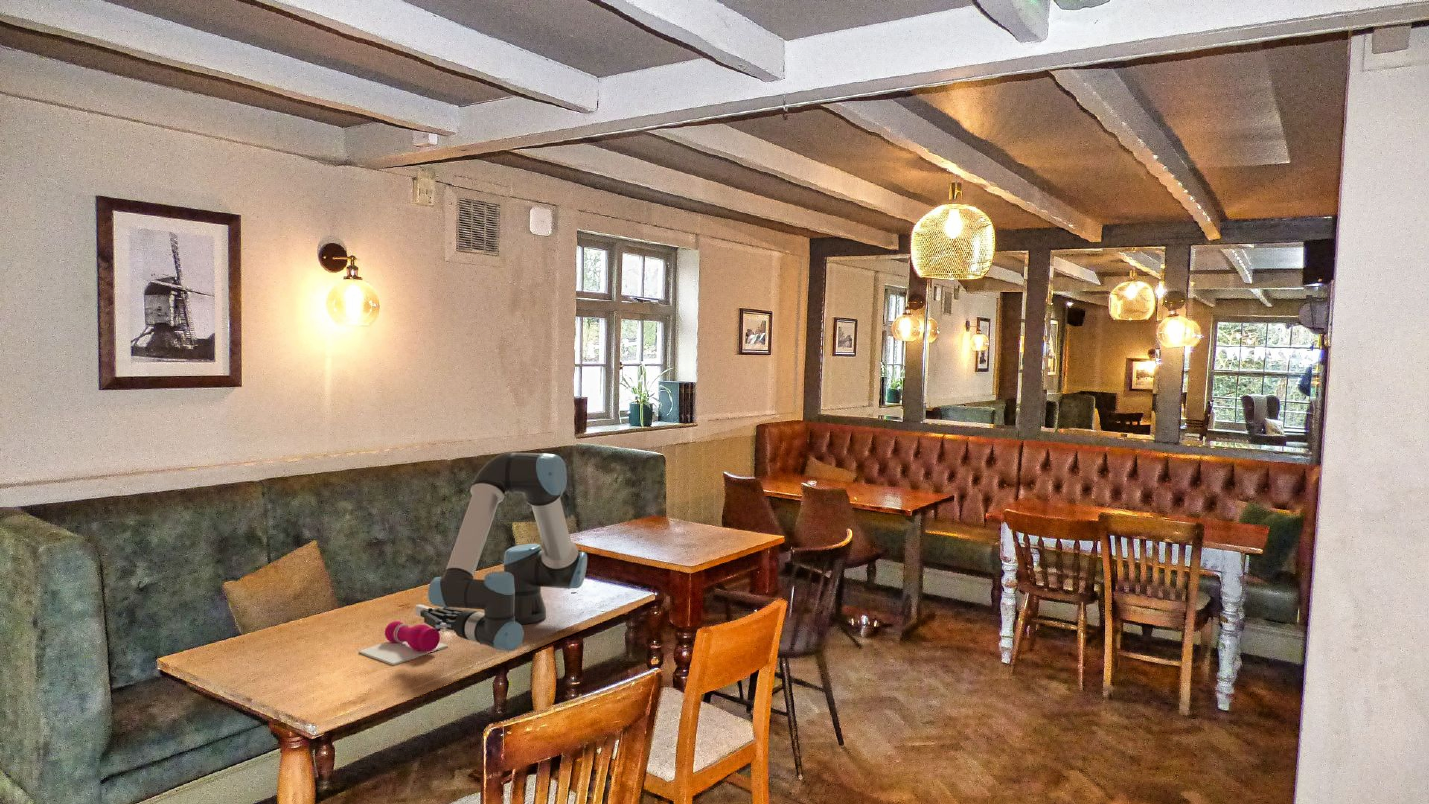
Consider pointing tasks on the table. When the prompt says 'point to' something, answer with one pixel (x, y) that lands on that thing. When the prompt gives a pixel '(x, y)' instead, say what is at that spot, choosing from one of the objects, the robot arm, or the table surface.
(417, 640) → the pepper mill
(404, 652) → the grey rubber mat
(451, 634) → the table surface
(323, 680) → the table surface
